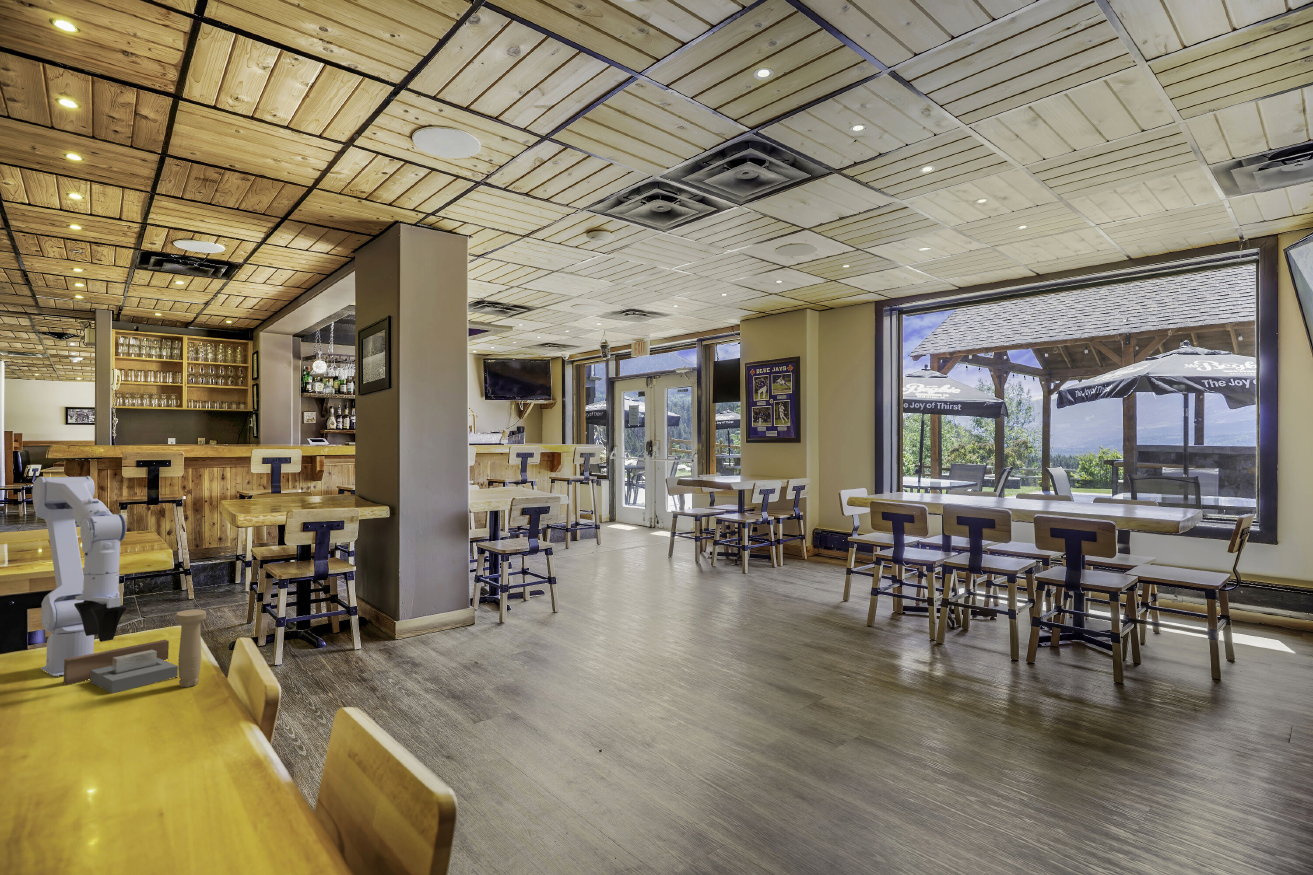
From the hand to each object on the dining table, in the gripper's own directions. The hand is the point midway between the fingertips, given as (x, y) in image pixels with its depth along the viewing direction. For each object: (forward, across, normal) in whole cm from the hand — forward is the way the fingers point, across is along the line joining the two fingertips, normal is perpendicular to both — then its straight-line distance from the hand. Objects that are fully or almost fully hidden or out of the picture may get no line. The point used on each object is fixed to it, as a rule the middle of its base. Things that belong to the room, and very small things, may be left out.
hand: (99, 637), depth 138 cm
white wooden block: (+10, +4, +5) cm, 11 cm away
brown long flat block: (+9, -4, +5) cm, 12 cm away
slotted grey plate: (+9, +4, +5) cm, 11 cm away
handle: (+10, +17, +10) cm, 22 cm away
